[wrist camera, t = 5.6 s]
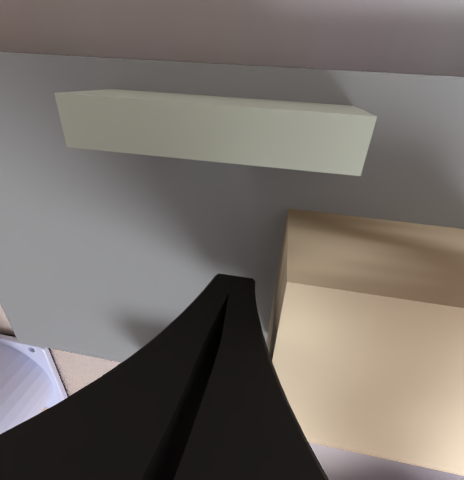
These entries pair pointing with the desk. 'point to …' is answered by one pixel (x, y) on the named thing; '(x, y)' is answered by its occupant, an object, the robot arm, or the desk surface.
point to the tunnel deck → (196, 181)
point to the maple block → (373, 336)
